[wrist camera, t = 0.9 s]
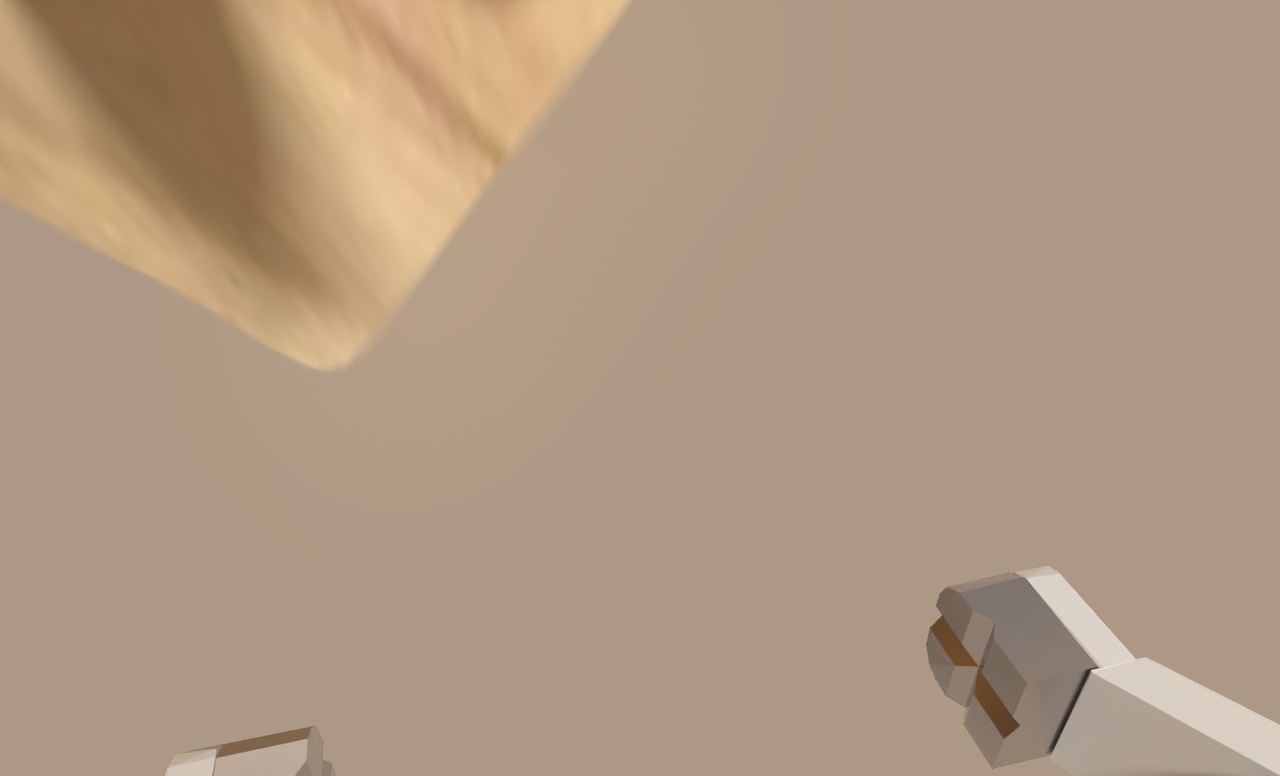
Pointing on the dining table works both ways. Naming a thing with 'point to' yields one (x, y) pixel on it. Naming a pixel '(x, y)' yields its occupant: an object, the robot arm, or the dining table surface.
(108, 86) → the dining table surface
